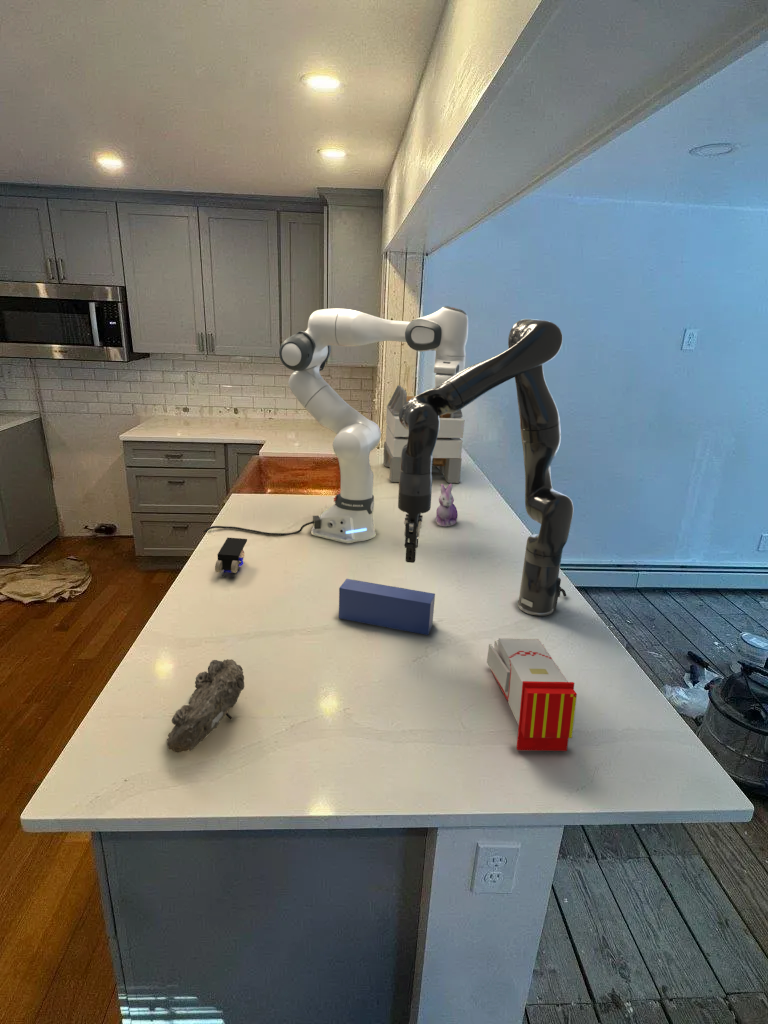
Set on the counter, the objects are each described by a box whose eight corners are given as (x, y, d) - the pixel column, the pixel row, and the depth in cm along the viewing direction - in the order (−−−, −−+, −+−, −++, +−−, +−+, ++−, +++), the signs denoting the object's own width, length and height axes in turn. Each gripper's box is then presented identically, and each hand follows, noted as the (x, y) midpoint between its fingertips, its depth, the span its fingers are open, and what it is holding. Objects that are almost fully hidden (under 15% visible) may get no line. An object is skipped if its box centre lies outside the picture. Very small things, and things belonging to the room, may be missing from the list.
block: (338, 618, 144) (339, 587, 141) (345, 608, 149) (346, 578, 146) (428, 635, 139) (430, 603, 136) (432, 624, 143) (435, 593, 141)
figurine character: (238, 584, 162) (249, 557, 175) (236, 562, 158) (247, 536, 172) (215, 584, 161) (227, 556, 175) (212, 561, 158) (225, 535, 171)
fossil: (192, 660, 117) (244, 628, 112) (224, 691, 120) (276, 661, 115) (142, 746, 98) (202, 712, 93) (182, 779, 101) (242, 748, 96)
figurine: (442, 528, 206) (446, 489, 201) (428, 519, 214) (431, 481, 209) (464, 525, 210) (468, 486, 205) (449, 516, 218) (452, 479, 213)
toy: (536, 621, 128) (586, 689, 98) (531, 676, 131) (578, 758, 101) (482, 620, 127) (517, 688, 98) (478, 675, 130) (511, 757, 101)
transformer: (382, 463, 289) (386, 382, 275) (445, 464, 293) (451, 384, 279) (390, 482, 257) (394, 392, 243) (460, 483, 261) (468, 394, 247)
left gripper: (445, 361, 178) (441, 405, 183) (432, 367, 160) (428, 416, 164) (465, 363, 177) (460, 407, 182) (455, 368, 158) (450, 418, 163)
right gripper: (429, 500, 122) (425, 568, 128) (433, 481, 135) (429, 544, 141) (395, 498, 123) (392, 565, 128) (402, 479, 136) (399, 541, 142)
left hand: (445, 411), depth 173 cm, fingers open, 8 cm apart
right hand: (411, 554), depth 135 cm, fingers open, 8 cm apart
